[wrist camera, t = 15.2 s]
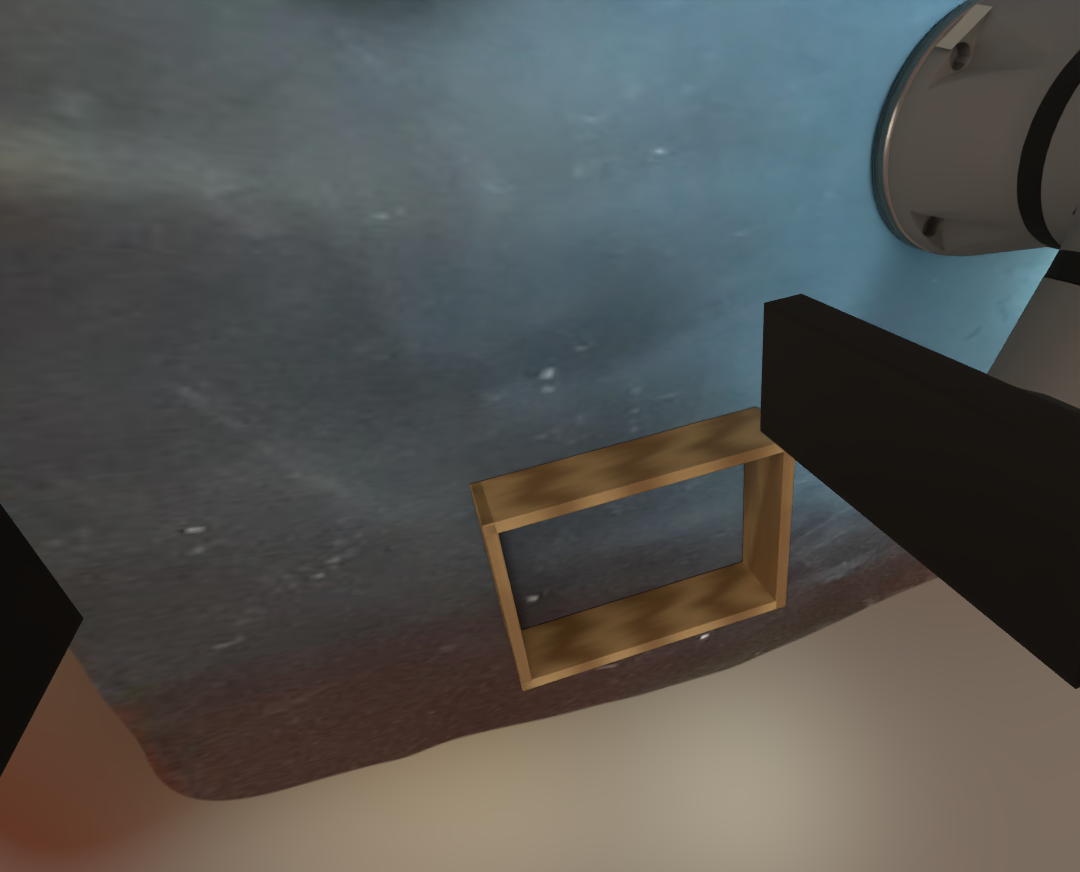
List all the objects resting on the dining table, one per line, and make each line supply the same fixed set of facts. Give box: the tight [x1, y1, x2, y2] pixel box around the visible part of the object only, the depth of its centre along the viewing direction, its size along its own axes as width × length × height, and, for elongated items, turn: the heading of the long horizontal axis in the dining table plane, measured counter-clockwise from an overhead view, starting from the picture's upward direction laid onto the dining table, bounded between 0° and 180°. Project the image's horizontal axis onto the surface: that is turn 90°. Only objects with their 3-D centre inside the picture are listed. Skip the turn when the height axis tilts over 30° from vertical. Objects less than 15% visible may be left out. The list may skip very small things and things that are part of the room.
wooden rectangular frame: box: [470, 407, 795, 691], centre depth 47 cm, size 22×16×5 cm
